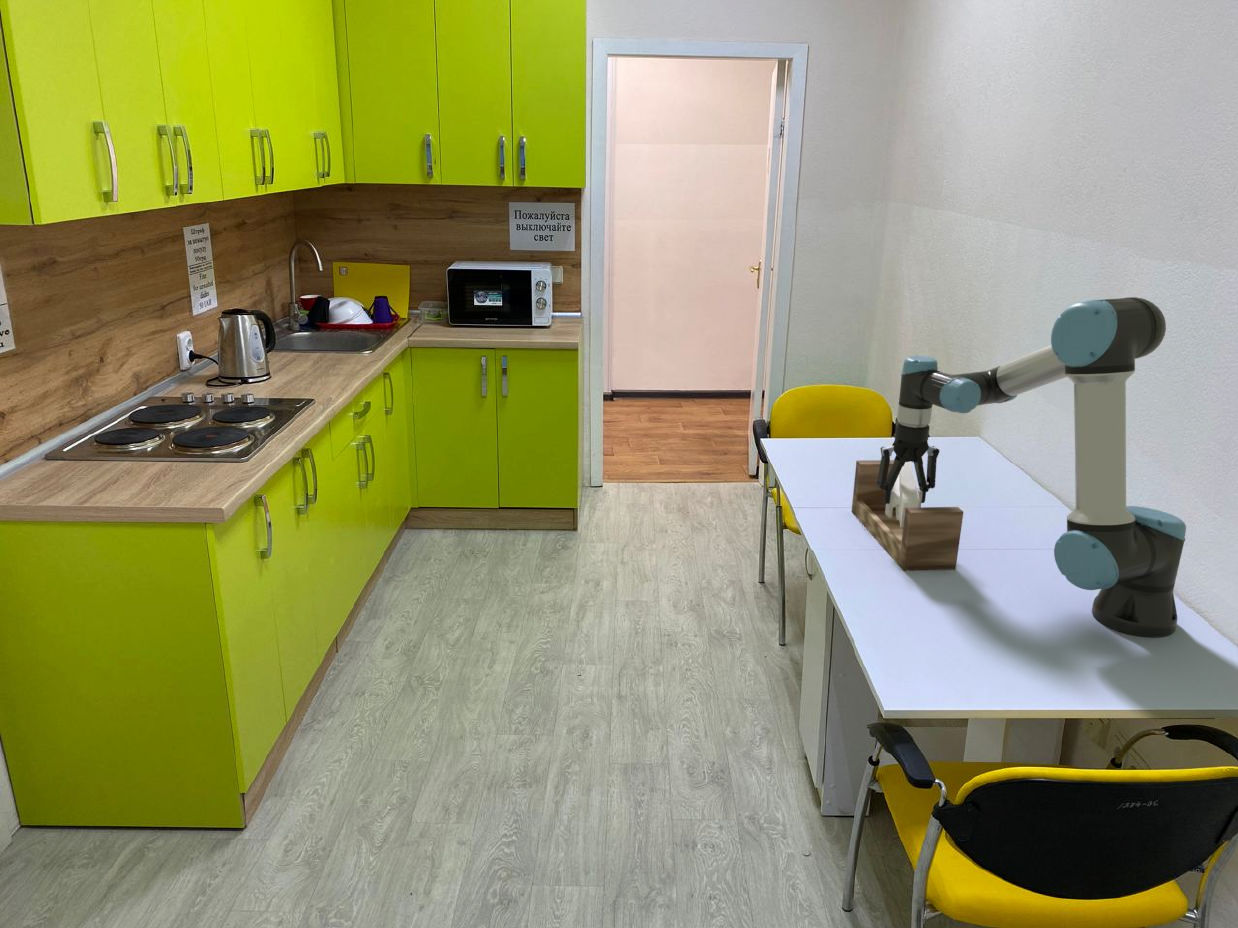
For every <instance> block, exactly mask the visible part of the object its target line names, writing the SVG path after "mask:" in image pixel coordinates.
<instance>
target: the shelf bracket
mask: <svg viewBox="0 0 1238 928" xmlns="http://www.w3.org/2000/svg"><path fill="white" fill-rule="evenodd" d="M917 488H918V486H917V482H916V479H915V476H914V473H913V470H912V466H911V461H910V462H905V464H904V466H903V467H902V469H901V471H900V473H899V475H898V478H897V480H896V482H895V484H894V487H893V491H894V492H895V494H894V504H893V507H895V508H896V517H897V520H899V522H900V528H903V526H904V518H905V509H906V508H918V507H919V503H920V499H919V493H918V489H917Z"/></svg>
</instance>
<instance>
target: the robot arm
mask: <svg viewBox="0 0 1238 928" xmlns="http://www.w3.org/2000/svg"><path fill="white" fill-rule="evenodd" d="M1166 322H1167V321H1166V317H1165V316H1164V314H1163V312H1162V310H1161V309H1160V307H1158V306H1157V305H1156V304H1155V303H1154V302H1151V301H1150V300H1148V299H1145V298H1142V297H1136V296H1135V297H1134V296H1133V297H1131V296H1130V297H1122V298H1107V299H1105V298H1104V299H1095V298H1094V299H1091V300H1085V301H1081V302H1077V303H1073V304H1071V305H1070V306H1068V307H1067V308H1065V309H1064V310H1063V311H1062V312H1061V314H1060V315H1059V316H1057V319H1056V320H1055V322H1054V323H1053V327H1052V330H1051V334H1050V344H1048V345H1046V346H1044V347H1042V348H1039V349H1037V350H1034V351H1032V352H1030V353H1027V354H1025V355H1023V356H1019V357H1018V358H1015V359H1013V360H1010V361H1008V362H1005V363H1003V364H1001V365H998V366H996V367H993V368H991V369H988V370H984V371H974V372H967V373H965V372H964V373H960V374H952V373H951V374H950V373H945V372H942V371H940V370H939V367H938V360H937V359H935V358H933V357H929V356H924V355H923V356H922V355H920V356H919V355H914V356H909V357H908V356H907V358H905V359H904V361H903V364H902V365H903V366H902V371H901V373H900V377H901V379H900V389H899V397H898V398H899V399H898V404H897V405H898V406H897V415H896V416H897V417H896V420H897V422H896V424H895V432H894V441H893V443H892V444H891V446H887V447H885V446H881V447H880V454H881V458H880V460H881V463H880V468H879V474H878V479H877V485H878V486H879V487H880V488H881V489H884V495H883V501H884V503H885V504H886V509H885V514H886V515H887V516H888V517H889V518H892V513H893V504H894V494H895V492H894V491H893V490H892V489H893V487H894V484H895V482H896V480H897V478H898V475H899V473H900V471H901V469H902V467H903V466H904V464H905V462H910V463H911V462H912V463H913V464H914V469H915V475H916V479H917V484H918V487H917V489H918V493H919V499H920V503H919V507H922V504H924V503H925V502H926V496H927V492H929V491H930V489H934V488H935V487H936V475H937V459H938V456H939V455H940V449H939V448H938V447H937V446H935V445H931V446H930V445H929V443H928V440H929V436H930V435H929V434H930V425H929V424H930V423H931V419H932V411H933V405H934V406H936V407H940V408H942V409H945V410H947V411H950V412H952V413H960V414H968V413H970V412H972V410H974V409H976V408H977V407H978V406H983V405H988V404H989V405H991V404H992V405H993V404H1002V403H1006V402H1010V401H1012V400H1015V399H1016V398H1017V397H1018V395H1020V394H1023V393H1026V392H1029V391H1032V390H1034V389H1035V390H1036V389H1037V388H1040V387H1043V386H1046V385H1048V384H1050V383H1054V382H1057V381H1059V380H1063V379H1064V378H1068V379H1069V381H1071V382H1072V383H1073V397H1074V398H1073V401H1074V402H1073V404H1074V405H1073V408H1074V409H1073V410H1074V411H1073V412H1074V479H1075V480H1074V482H1075V483H1074V485H1075V486H1074V487H1075V489H1074V491H1075V493H1074V495H1075V501H1074V503H1075V506H1074V509H1073V510H1072V511H1070V512H1069V514H1068V515H1066V532H1063V533H1062V534H1061V535H1060V537H1058V539H1057V540H1056V542H1055V544H1054V547H1053V548H1054V549H1053V554H1054V555H1053V556H1054V561H1055V564H1056V567H1057V568H1058V570H1059V572H1060V574H1061V575H1062V576H1064V577H1065V578H1066V580H1067V581H1068V582H1069V583H1070V584H1072V585H1073V586H1075V587H1077V588H1079V589H1082V590H1085V591H1097V590H1099V592H1098V594H1097V595H1096V596H1095V598H1094V599H1093V602H1092V608H1091V614H1092V615H1093V617H1094V619H1096V620H1097V621H1098V622H1100V623H1101V624H1103V625H1104V626H1106V627H1109V628H1111V629H1113V630H1115V631H1118V632H1122V633H1125V634H1127V635H1128V634H1129V635H1135V636H1139V637H1148V638H1149V637H1150V638H1159V637H1160V638H1161V637H1165V636H1169V635H1171V634H1173V633H1174V632H1175V631H1176V628H1177V623H1178V615H1177V608H1176V602H1175V594H1174V589H1175V584H1176V581H1177V580H1176V579H1177V575H1178V570H1179V567H1180V562H1181V558H1182V552H1183V549H1184V545H1185V542H1186V538H1185V537H1186V531H1187V530H1186V529H1187V525H1186V524H1185V521H1183V519H1181V518H1180V517H1178V516H1175V515H1173V514H1171V513H1168V512H1165V511H1162V510H1158V509H1153V508H1150V507H1145V506H1138V505H1137V506H1135V505H1127V436H1126V435H1127V433H1126V432H1127V431H1126V429H1127V427H1126V426H1127V418H1126V417H1127V414H1126V411H1127V410H1126V409H1127V407H1126V405H1127V404H1126V403H1127V402H1126V398H1127V397H1126V391H1127V390H1126V389H1127V387H1126V383H1127V380H1128V379H1129V378H1130V377H1131V376H1132V375H1133V374H1134V373H1135V371H1136V359H1140V358H1143V357H1146V356H1148V355H1150V354H1151V353H1153V352H1154V351H1155V350H1156V349H1158V347H1159V346H1160V345H1161V344H1162V342H1163V340H1164V338H1165V335H1166V330H1167V328H1166V327H1167V323H1166ZM893 452H894V453H895V457H894V459H893V460H894V463H893V466H892V468H891V470H890V473H889V475H888V477H887V474H888V468H889V463H890V460H891V457H892V455H893ZM925 454H927V458H926V459H927V463H926V476H925V469H924V461H923V456H924V455H925ZM919 507H918V508H919Z"/></svg>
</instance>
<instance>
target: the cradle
mask: <svg viewBox="0 0 1238 928" xmlns="http://www.w3.org/2000/svg"><path fill="white" fill-rule="evenodd" d="M880 463H881V459H880V460H879V459H878V460H877V459H876V460H873V459H871V460H870V459H869V460H868V459H866V460H856V463H855V473H854V482H853V492H852V504H851V513H852V514H853V515H854V516H855V518H856V519H858V521H859V522H860V523H861V524H862V526H863V527H864V528H865V529H866V530H867V532H868V533H870V535H871V536H872V537H873V538H874V540H876V541H877V543H878V544H879V545H880V546H881V547H882V548H883V549H884V550H885V551H886V553H887V554H888V556H889V557H891V559H892V560H894V562H895V563H896V564H897V565H898V566H899V568H901V570H902V571H903V572H914V571H915V572H917V571H919V572H921V571H922V572H923V571H925V572H926V571H956V568H957V563H958V562H957V561H958V555H959V554H958V553H959V549H960V548H959V547H960V539H961V534H962V533H961V532H962V525H963V518H964V510H962V509H961V508H960V507H959V506H937V507H935V506H934V507H933V506H931V507H929V506H928V507H926V506H925V507H924V506H921V507H919V508H906V509H905V518H904V526H903V528H900V522H899V520H897V517H896V508H895V507H893V513H892V518H889V517H888V516H887V515H886V514H885V509H886V504H885V503H884V501H883V495H884V489H881V488H880V487H879V486H878V485H877V479H878V474H879V468H880ZM893 463H894V459H890V463H889V468H888V474H887V477H888V475H889V473H890V470H891V468H892V466H893ZM892 490H893V489H892Z"/></svg>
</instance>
